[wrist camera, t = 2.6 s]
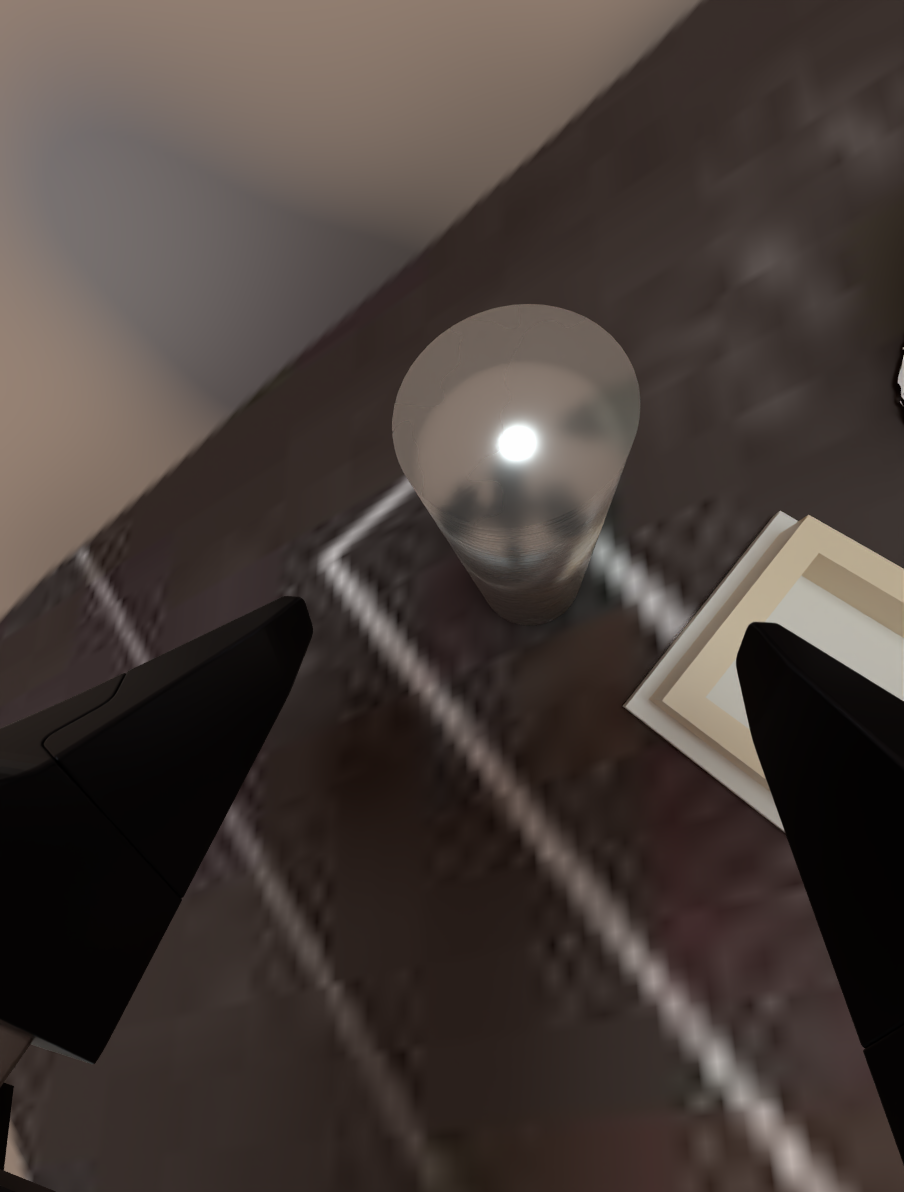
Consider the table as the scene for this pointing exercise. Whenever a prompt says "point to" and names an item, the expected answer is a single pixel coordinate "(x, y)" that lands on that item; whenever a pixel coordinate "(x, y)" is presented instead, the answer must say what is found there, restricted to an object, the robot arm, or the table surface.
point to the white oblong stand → (798, 603)
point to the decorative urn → (901, 379)
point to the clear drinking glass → (519, 448)
